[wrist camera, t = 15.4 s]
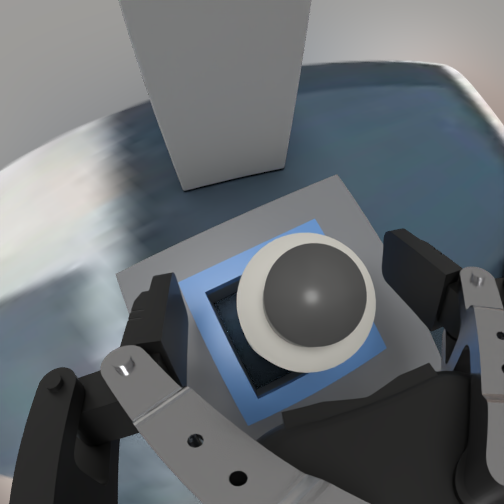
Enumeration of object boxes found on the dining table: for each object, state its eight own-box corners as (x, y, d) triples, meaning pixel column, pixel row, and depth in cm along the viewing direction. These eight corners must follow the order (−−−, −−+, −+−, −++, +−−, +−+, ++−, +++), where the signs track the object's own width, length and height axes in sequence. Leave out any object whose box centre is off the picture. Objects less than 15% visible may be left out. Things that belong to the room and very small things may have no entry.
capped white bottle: (263, 372, 16) (283, 405, 6) (231, 311, 17) (207, 258, 7) (325, 339, 16) (414, 321, 7) (292, 280, 17) (340, 196, 8)
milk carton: (183, 193, 19) (91, -110, 1) (171, 122, 21) (117, -101, 3) (284, 170, 20) (329, -127, 2) (257, 104, 22) (263, -120, 4)
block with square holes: (298, 569, 10) (304, 594, 7) (132, 284, 17) (109, 270, 14) (462, 471, 12) (487, 481, 9) (327, 194, 19) (340, 166, 16)
